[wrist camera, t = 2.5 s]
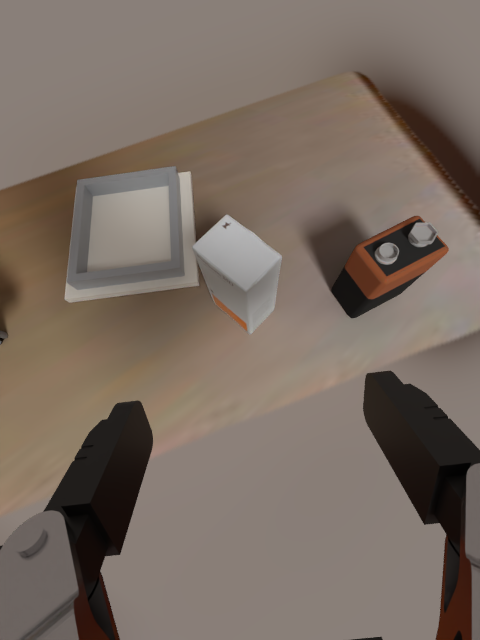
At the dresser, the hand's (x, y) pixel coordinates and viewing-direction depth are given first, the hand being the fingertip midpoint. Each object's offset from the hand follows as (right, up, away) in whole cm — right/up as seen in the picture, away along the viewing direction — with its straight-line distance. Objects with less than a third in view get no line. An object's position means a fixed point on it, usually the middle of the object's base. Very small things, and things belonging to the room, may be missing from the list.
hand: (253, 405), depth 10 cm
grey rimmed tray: (-14, +14, +27) cm, 34 cm away
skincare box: (0, +4, +23) cm, 23 cm away
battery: (+14, +6, +22) cm, 27 cm away
